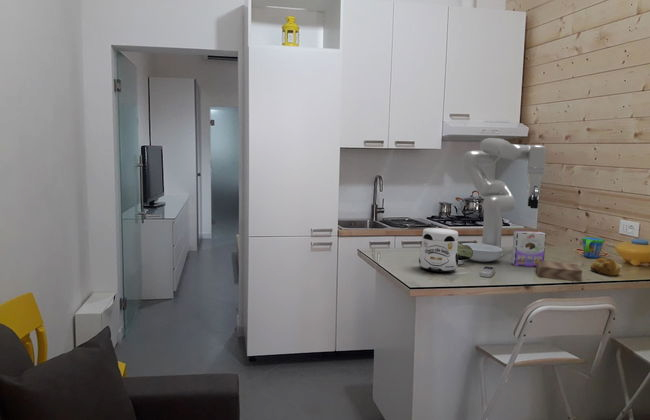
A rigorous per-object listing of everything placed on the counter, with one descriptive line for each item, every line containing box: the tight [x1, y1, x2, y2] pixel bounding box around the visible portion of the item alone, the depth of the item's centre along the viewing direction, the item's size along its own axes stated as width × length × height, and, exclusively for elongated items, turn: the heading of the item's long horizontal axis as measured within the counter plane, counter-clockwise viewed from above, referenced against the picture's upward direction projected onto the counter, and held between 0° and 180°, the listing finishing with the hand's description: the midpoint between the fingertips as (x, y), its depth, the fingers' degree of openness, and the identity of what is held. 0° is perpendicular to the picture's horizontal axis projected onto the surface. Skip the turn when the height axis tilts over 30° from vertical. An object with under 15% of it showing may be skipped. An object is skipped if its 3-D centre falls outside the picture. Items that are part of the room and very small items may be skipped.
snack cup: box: [581, 236, 605, 259], centre depth 276 cm, size 16×11×10 cm
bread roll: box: [589, 257, 621, 277], centre depth 238 cm, size 13×10×8 cm
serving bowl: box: [462, 242, 503, 263], centre depth 255 cm, size 21×21×7 cm
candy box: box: [511, 230, 547, 268], centre depth 247 cm, size 14×6×16 cm, turn 84°
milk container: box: [418, 227, 459, 273], centre depth 229 cm, size 17×17×18 cm
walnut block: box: [535, 260, 583, 282], centre depth 229 cm, size 17×14×5 cm
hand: (532, 207), depth 245 cm, fingers open, 9 cm apart
